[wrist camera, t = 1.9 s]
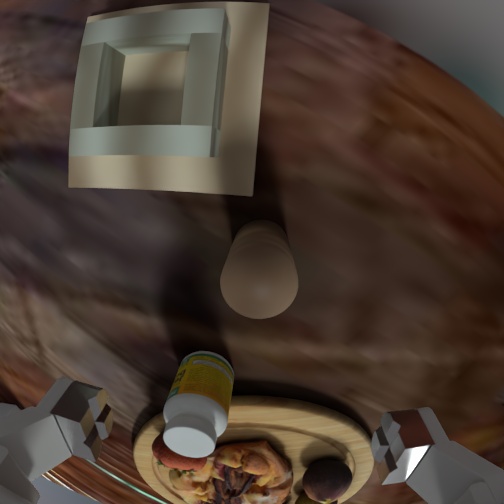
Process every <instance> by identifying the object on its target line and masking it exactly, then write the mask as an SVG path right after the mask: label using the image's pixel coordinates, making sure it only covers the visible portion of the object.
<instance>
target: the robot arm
mask: <svg viewBox="0 0 504 504" xmlns="http://www.w3.org/2000/svg"><path fill="white" fill-rule="evenodd" d="M108 399H109V398H108V394H107V391H106V390H105V389H103V388H99V387H96V386H92V385H89V384H86V383H82V382H79V381H75V380H72V379H69V378H66V377H60V378H58V380H57V381H56V382H55V383H54V385H53V386H52V387H51V388H50V390H49V391H48V392H47V393H46V395H45V396H44V397H43V398H42V400H41V401H40V402H39V404H38V405H37V406H36V408H35V407H32V406H31V407H29V408H26V409H24V410H21V411H18V412H16V413H13V414H11V415H8V416H5V417H3V418H0V504H37V501H38V500H39V498H40V495H39V493H38V491H37V490H36V489H35V488H34V486H33V485H32V484H31V481H32V480H34V479H36V478H37V477H39V476H41V475H42V474H44V473H46V472H47V471H49V470H50V469H52V468H53V467H55V466H57V465H58V464H60V463H61V462H63V461H64V460H66V459H67V458H69V457H70V456H72V455H75V456H78V457H81V458H85V459H88V460H91V461H94V462H96V461H97V459H98V457H99V455H100V453H101V450H102V448H103V444H102V441H101V440H103V439H105V438H106V437H108V436H109V434H110V432H111V429H112V424H113V413H112V409H111V408H110V407H109V406H108V405H107V404H106V402H107V401H108ZM380 422H381V425H382V426H381V427H379V428H378V429H377V430H375V432H374V435H373V437H372V442H371V450H372V455H373V458H374V459H375V460H377V461H378V462H379V465H378V467H377V471H378V475H379V478H380V481H381V484H382V485H385V484H392V483H399V482H405V481H407V482H406V483H407V484H408V485H409V486H410V487H411V488H412V489H413V490H414V491H416V492H417V493H418V494H419V495H420V496H421V497H422V498H423V499H424V500H425V501H426V502H428V503H429V504H504V470H502V469H501V468H499V467H497V466H495V465H494V464H492V463H490V462H488V461H487V460H485V459H483V458H482V457H480V456H478V455H476V454H475V453H473V452H471V451H470V450H468V449H466V448H465V447H463V446H461V445H460V444H458V443H456V442H455V441H449V439H448V437H447V436H446V434H445V432H444V430H443V428H442V427H441V425H440V423H439V421H438V420H437V418H436V416H435V414H434V413H433V411H432V409H431V408H429V407H425V408H418V409H410V410H401V411H391V412H385V413H384V414H383V416H382V418H381V420H380ZM71 454H72V455H71Z"/></svg>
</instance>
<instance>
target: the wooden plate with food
mask: <svg viewBox="0 0 504 504" xmlns="http://www.w3.org/2000/svg"><path fill="white" fill-rule="evenodd" d="M165 427H166V422H165V419H164V415H163V412H161V413H159V414H157V415H155V416H154V417H153V418H151V419H150V420H149V421H147V422H146V423H145V424H144V425H143V426H142V428H141V429H140V430H139V432H138V434H137V436H136V438H135V441H134V445H133V457H134V461H135V464H136V467H137V469H138V471H139V473H140V475H141V476H142V477H143V479H144V480H145V481H146V482H147V483H148V485H149V486H150V487H152V488H153V489H154V490H155V491H156V492H157V493H159V494H160V495H161V496H163V497H164V498H166V499H167V500H169V501H171V502H172V503H174V504H341V503H342V502H344V501H345V500H347V499H348V498H350V497H351V496H353V495H354V494H355V493H356V492H357V491H358V490H359V489H360V488H361V487H362V486H363V485H364V484H365V482H366V481H367V480H368V478H369V477H370V475H371V473H372V470H373V468H374V463H375V459H374V458H373V455H372V450H371V442H372V441H371V439H370V437H369V435H368V434H367V433H366V431H365V430H364V429H363V428H362V427H361V426H360V425H359V424H358V423H356V422H355V421H354V420H352V419H351V418H349V417H348V416H346V415H344V414H342V413H340V412H337V411H335V410H333V409H330V408H327V407H325V406H321V405H318V404H314V403H311V402H306V401H302V400H297V399H290V398H284V397H273V396H258V395H236V396H231V401H230V409H229V417H228V423H227V427H226V429H225V431H224V432H223V433H222V434H221V435H220V436H219V437H217V441H216V445H215V449H214V451H213V452H212V453H211V454H210V455H208V456H205V457H200V458H193V457H186V456H183V455H180V454H178V453H176V452H174V451H173V450H171V449H170V448H169V447H168V446H167V445H166V444H165V442H164V439H163V434H164V430H165Z"/></svg>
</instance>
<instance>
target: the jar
mask: <svg viewBox="0 0 504 504" xmlns="http://www.w3.org/2000/svg"><path fill="white" fill-rule="evenodd" d="M18 411H21V409H19V408H18V407H17V406H16V405H13V404H7V403H0V418H3V417H5V416H8V415H11V414H13V413H16V412H18Z"/></svg>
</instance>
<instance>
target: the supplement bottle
mask: <svg viewBox="0 0 504 504" xmlns="http://www.w3.org/2000/svg"><path fill="white" fill-rule="evenodd" d="M233 381H234V372H233V369H232V367H231V365H230V364H229V363H228V361H227V360H226V359H225V358H223V357H222V356H220V355H218V354H216V353H213V352H209V351H198V352H194V353H192V354H189V355H188V356H186V357H185V358H184V359H183V361H182V362H181V365H180V367H179V370H178V372H177V375H176V377H175V380H174V383H173V385H172V388H171V390H170V392H169V395H168V398H167V400H166V403H165V405H164V411H163V415H164V419H165V422H166V427H165V430H164V434H163V439H164V442H165V444H166V445H167V446H168V447H169V448H170V449H171V450H173V451H174V452H176V453H178V454H180V455H183V456H186V457H193V458H200V457H205V456H208V455H210V454H211V453H212V452H213V451H214V449H215V445H216V441H217V437H219V436H220V435H221V434H222V433H223V432H224V431H225V429H226V427H227V423H228V417H229V409H230V401H231V395H232V388H233Z"/></svg>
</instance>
